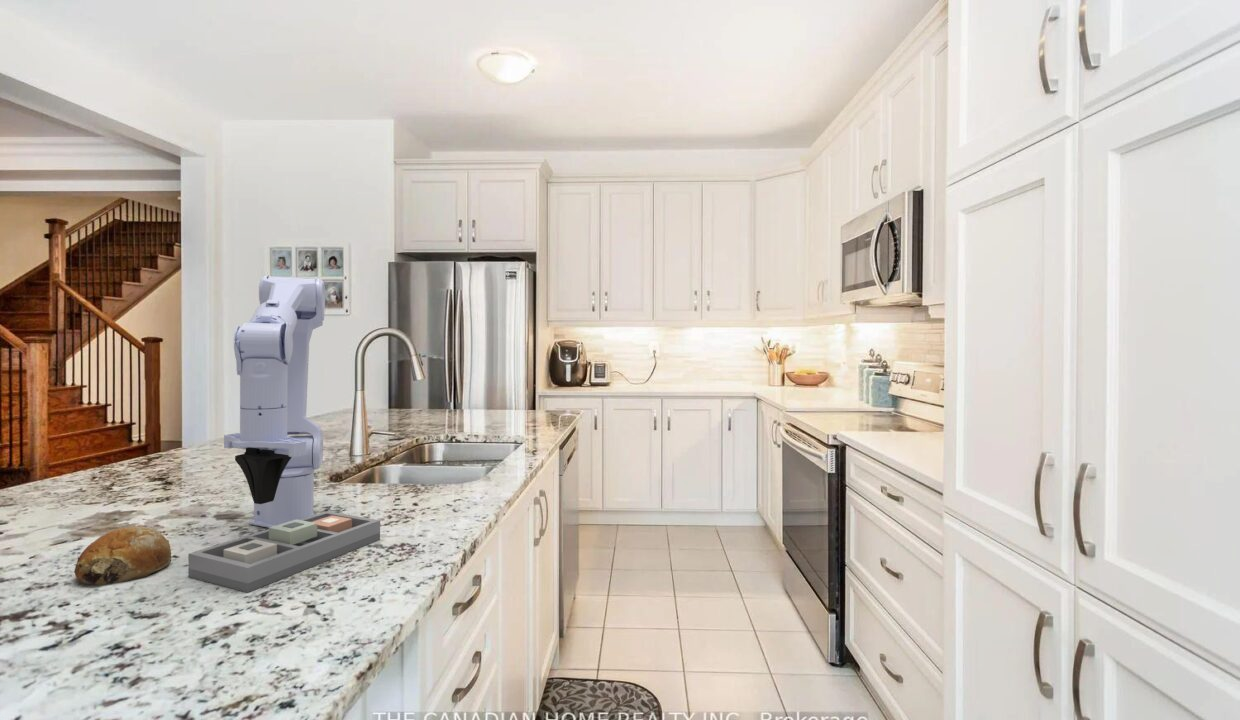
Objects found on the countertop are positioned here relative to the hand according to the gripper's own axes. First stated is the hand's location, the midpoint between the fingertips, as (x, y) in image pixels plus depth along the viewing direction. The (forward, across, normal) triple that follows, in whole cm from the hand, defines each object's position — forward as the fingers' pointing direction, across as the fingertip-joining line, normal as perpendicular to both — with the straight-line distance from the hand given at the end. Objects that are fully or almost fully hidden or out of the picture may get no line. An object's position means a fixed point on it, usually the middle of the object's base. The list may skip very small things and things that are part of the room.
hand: (263, 502), depth 80 cm
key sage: (+7, 0, +5) cm, 8 cm away
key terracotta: (+8, 0, +11) cm, 14 cm away
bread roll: (+10, -16, -9) cm, 21 cm away
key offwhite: (+8, 0, -2) cm, 8 cm away
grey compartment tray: (+9, 0, +5) cm, 10 cm away
